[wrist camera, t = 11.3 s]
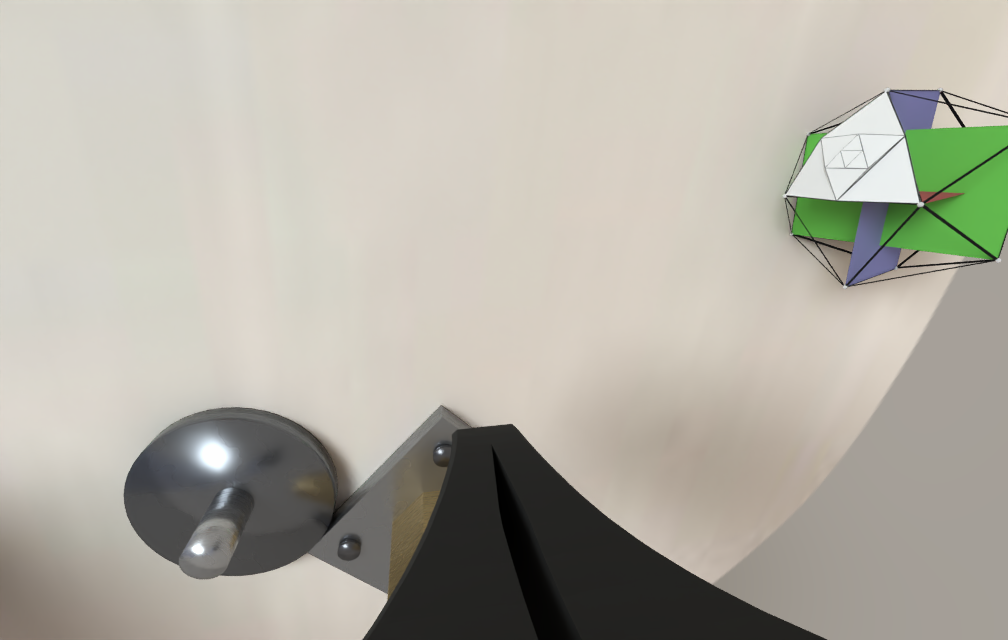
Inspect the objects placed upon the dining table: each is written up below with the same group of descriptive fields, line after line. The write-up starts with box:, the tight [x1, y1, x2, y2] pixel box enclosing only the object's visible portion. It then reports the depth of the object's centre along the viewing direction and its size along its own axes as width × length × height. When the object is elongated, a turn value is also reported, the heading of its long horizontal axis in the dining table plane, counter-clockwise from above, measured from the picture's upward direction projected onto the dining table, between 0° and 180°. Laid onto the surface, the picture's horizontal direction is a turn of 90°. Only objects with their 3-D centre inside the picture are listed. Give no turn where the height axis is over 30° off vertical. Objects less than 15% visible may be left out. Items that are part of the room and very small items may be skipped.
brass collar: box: [388, 490, 440, 599], centre depth 20 cm, size 5×5×4 cm
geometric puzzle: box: [782, 87, 1008, 289], centre depth 17 cm, size 7×7×8 cm
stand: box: [124, 408, 338, 579], centre depth 19 cm, size 8×8×4 cm
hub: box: [308, 405, 471, 594], centre depth 21 cm, size 9×9×4 cm
